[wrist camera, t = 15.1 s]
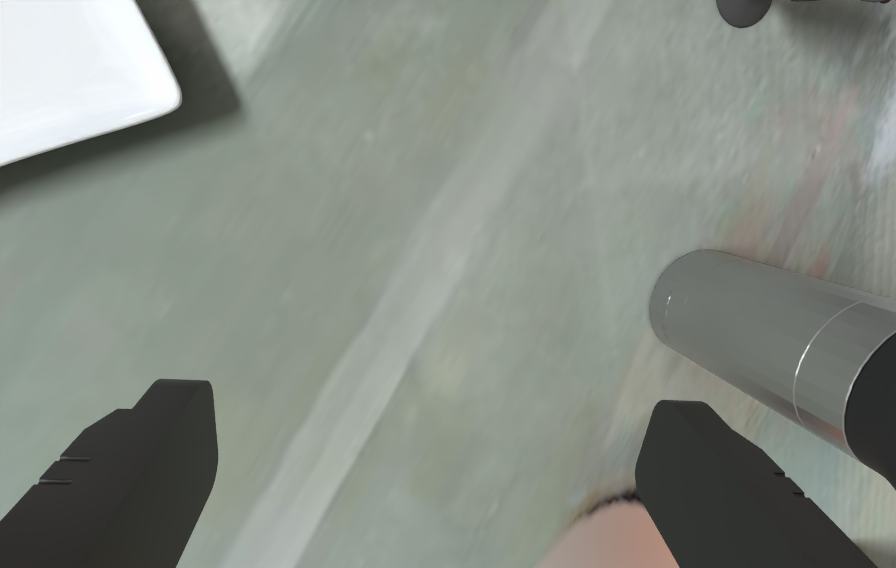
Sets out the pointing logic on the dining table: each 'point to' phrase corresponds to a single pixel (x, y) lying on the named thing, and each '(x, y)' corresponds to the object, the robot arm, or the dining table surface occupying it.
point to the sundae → (750, 10)
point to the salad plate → (77, 73)
